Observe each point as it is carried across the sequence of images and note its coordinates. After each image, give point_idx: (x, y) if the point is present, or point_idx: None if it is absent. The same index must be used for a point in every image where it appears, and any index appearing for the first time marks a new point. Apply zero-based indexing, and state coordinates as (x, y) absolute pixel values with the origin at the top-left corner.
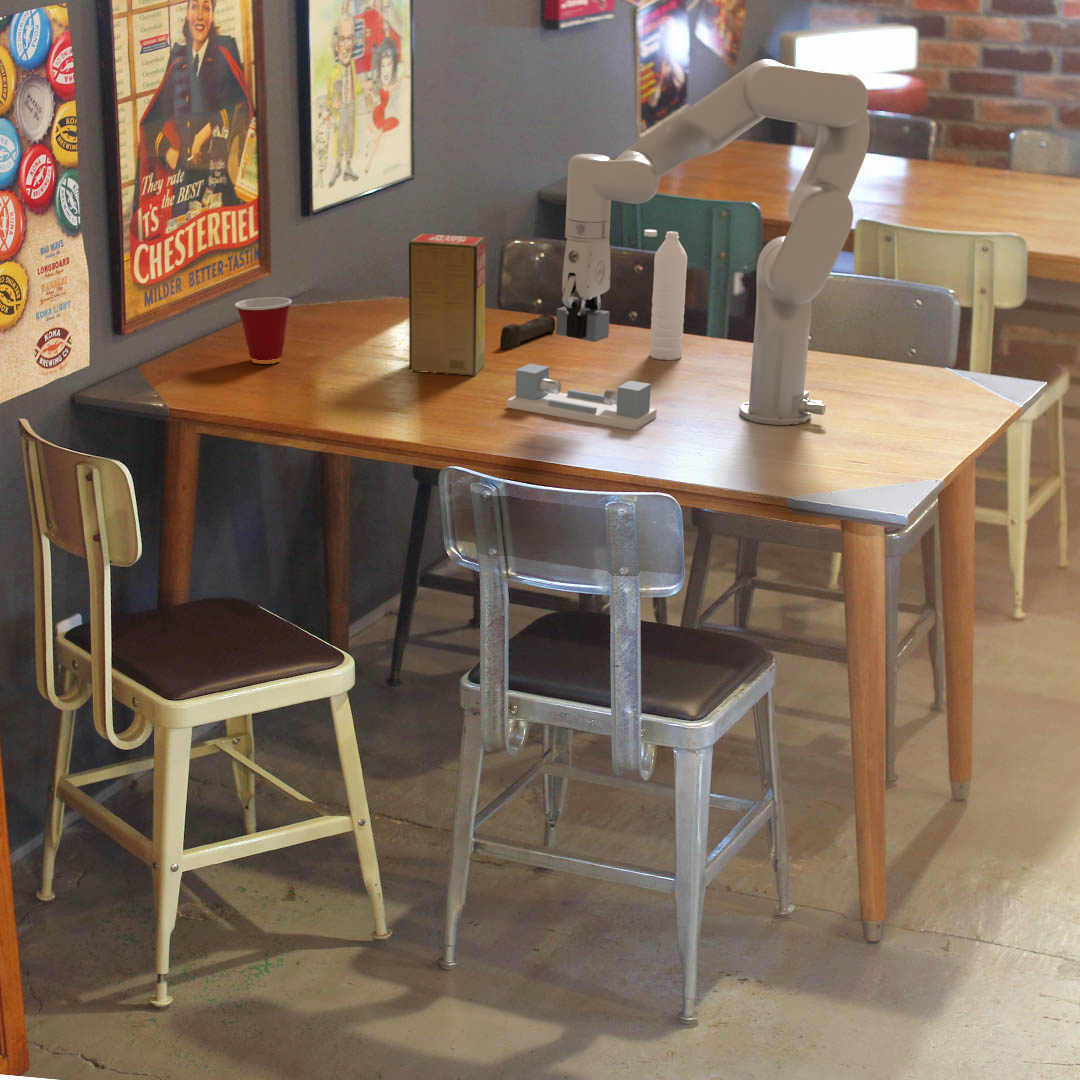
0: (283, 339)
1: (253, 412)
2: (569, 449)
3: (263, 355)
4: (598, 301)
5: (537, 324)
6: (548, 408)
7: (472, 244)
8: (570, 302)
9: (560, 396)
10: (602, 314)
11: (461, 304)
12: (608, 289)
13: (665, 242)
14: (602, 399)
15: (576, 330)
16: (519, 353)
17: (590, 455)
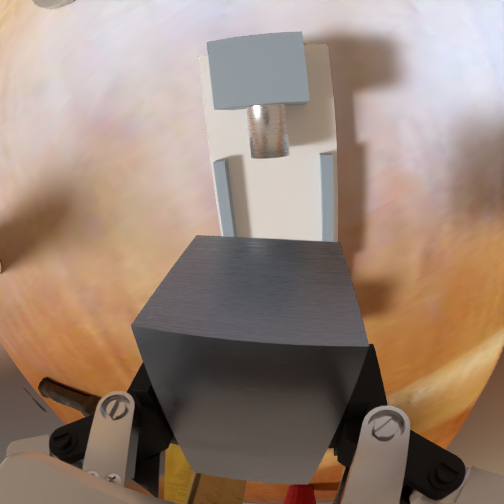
0: (296, 499)
1: (438, 444)
2: (492, 125)
3: (312, 492)
4: (117, 433)
5: (58, 396)
6: None
7: None
8: (490, 484)
9: None
10: (252, 340)
11: (206, 498)
12: (25, 459)
13: None
14: (229, 187)
15: (374, 354)
16: (107, 391)
17: (496, 81)
